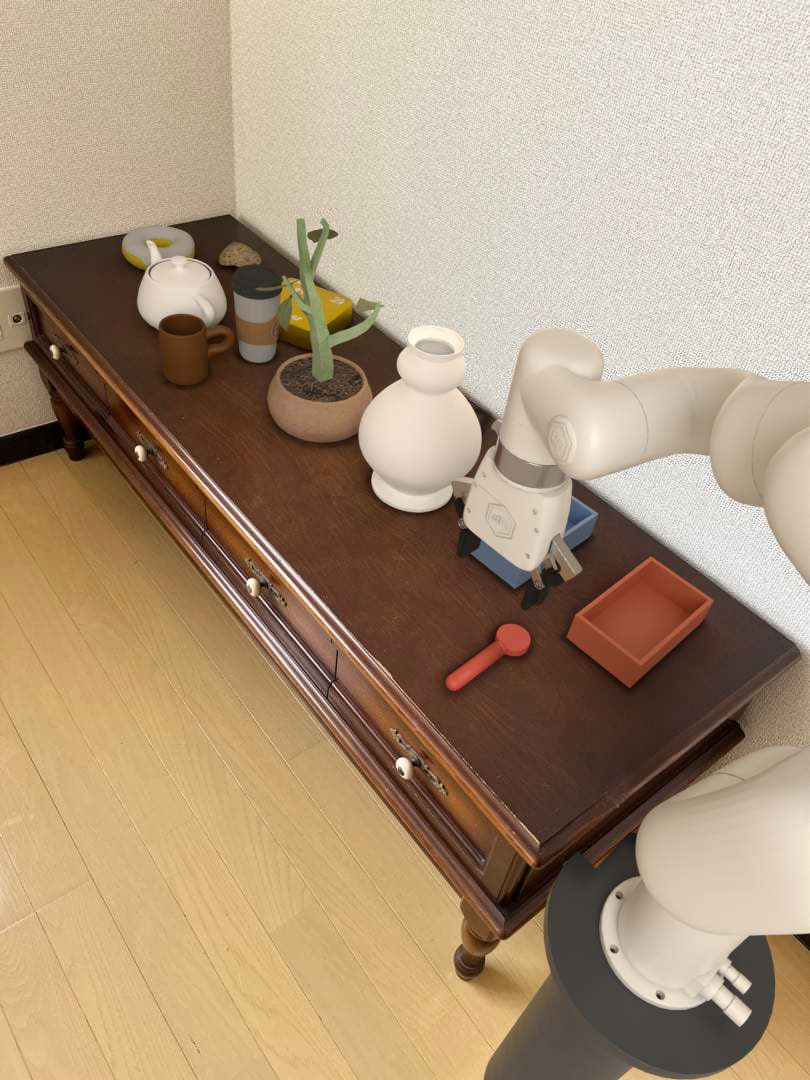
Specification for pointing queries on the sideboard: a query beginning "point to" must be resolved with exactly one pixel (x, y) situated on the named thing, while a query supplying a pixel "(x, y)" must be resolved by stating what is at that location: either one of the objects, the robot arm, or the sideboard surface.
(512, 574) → the blue bin
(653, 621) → the red bin
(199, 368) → the mug
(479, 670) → the red spoon
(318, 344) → the potted plant
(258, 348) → the coffee cup
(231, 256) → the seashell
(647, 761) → the sideboard surface
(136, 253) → the donut
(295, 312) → the element tile
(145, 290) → the teapot
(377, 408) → the decorative vase
